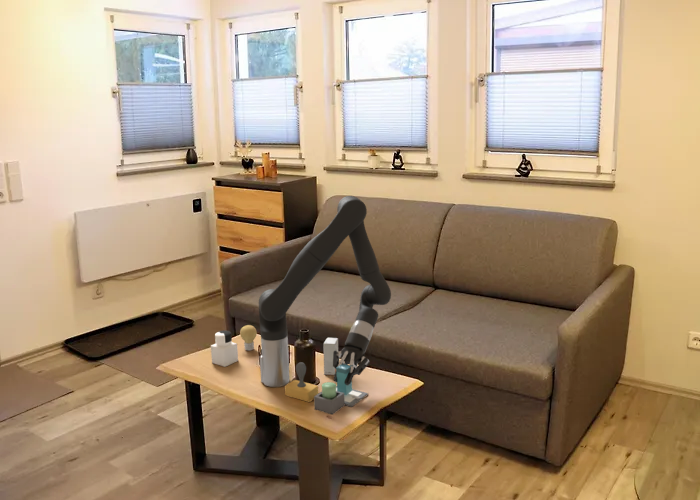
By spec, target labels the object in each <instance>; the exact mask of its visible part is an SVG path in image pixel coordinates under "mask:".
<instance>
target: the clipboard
mask: <svg viewBox="0 0 700 500" xmlns="http://www.w3.org/2000/svg"><path fill="white" fill-rule="evenodd" d="M336 391H337V385H336ZM367 396H368V392H364V391H361V390H358V389H354V388H352V391H351V392H350V393H348V394H347V395H344V403H345V406H347V407H354V406H355V405H357V404H358V403H359V402H360V401H362V400H363V399H364V398H365V397H367Z"/></svg>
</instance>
